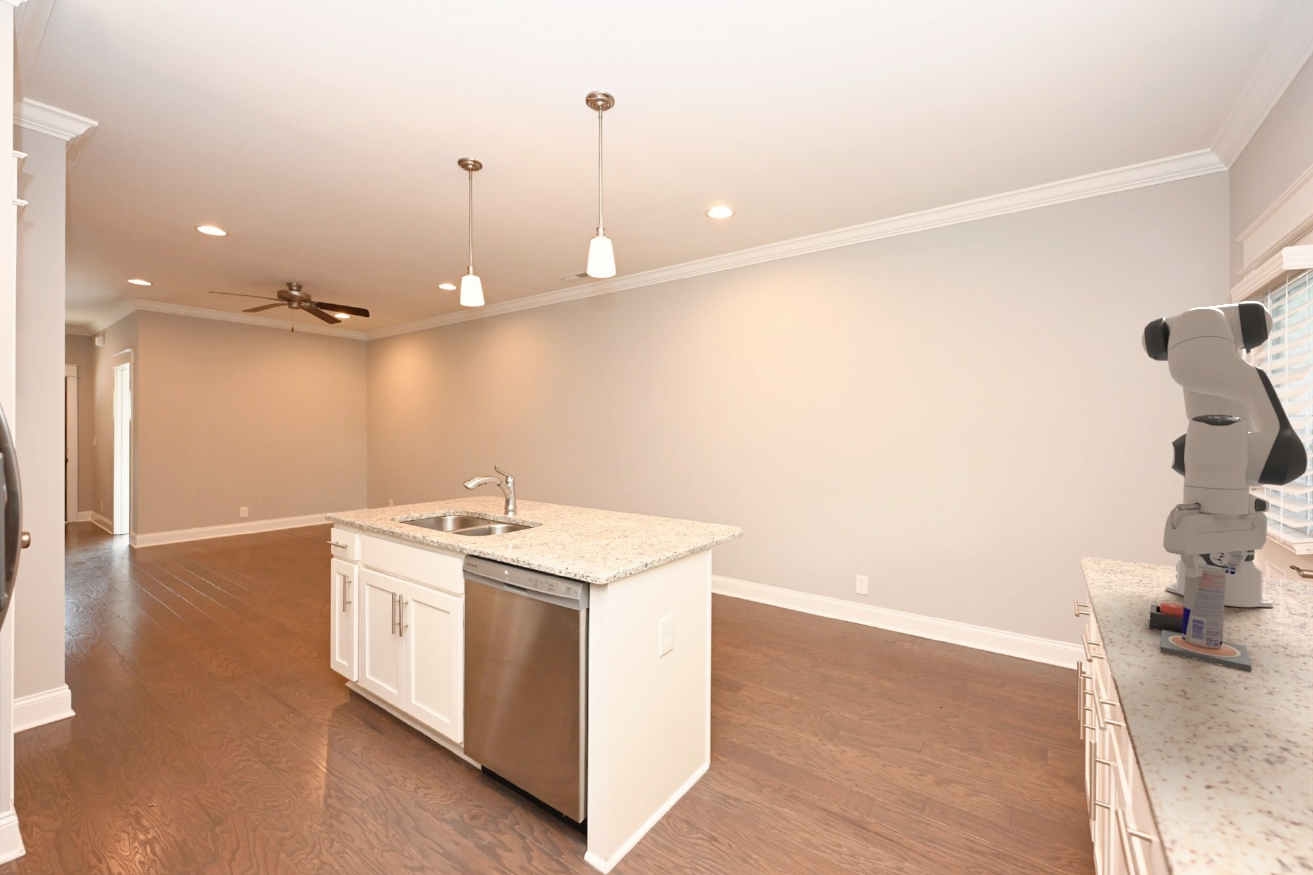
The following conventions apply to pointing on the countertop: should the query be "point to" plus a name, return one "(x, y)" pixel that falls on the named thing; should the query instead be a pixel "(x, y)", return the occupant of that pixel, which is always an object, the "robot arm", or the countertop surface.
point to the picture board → (1206, 651)
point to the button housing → (1164, 620)
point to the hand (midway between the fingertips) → (1213, 575)
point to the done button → (1171, 609)
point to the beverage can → (1204, 607)
